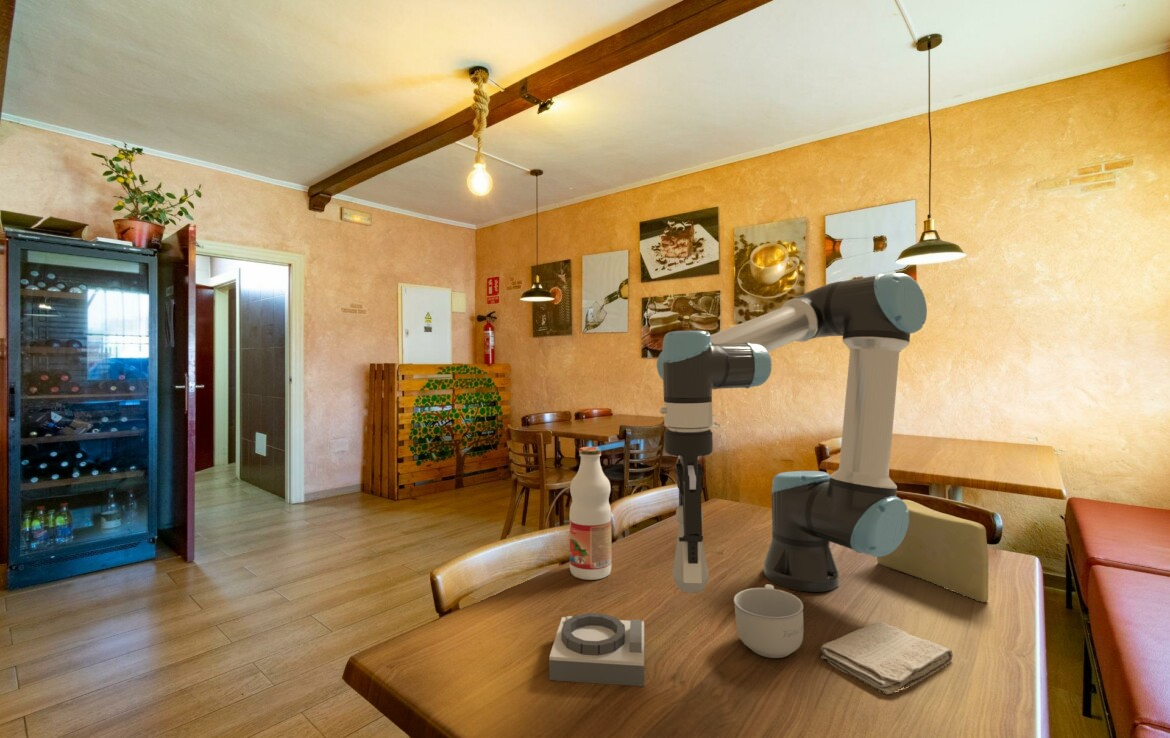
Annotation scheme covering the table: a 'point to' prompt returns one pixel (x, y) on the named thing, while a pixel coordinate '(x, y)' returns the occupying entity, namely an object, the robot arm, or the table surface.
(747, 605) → the teacup
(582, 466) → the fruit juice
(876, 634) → the washcloth
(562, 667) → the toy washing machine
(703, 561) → the bowling pin
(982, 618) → the table surface
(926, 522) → the cheese
